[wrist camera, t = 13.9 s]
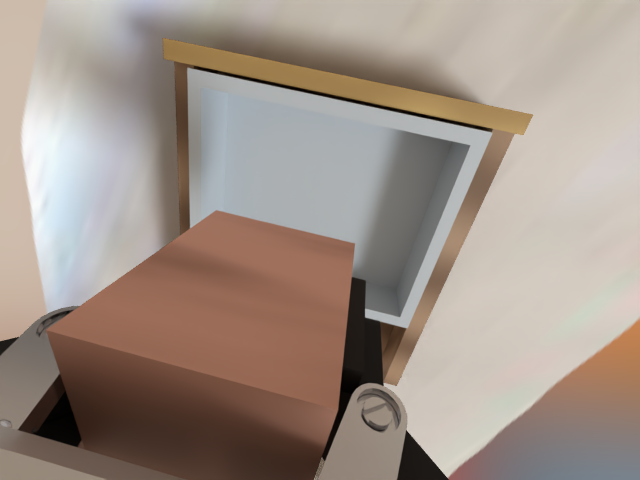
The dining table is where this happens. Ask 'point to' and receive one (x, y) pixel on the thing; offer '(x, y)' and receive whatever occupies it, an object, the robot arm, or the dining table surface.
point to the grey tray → (333, 177)
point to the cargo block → (214, 353)
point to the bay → (403, 100)
